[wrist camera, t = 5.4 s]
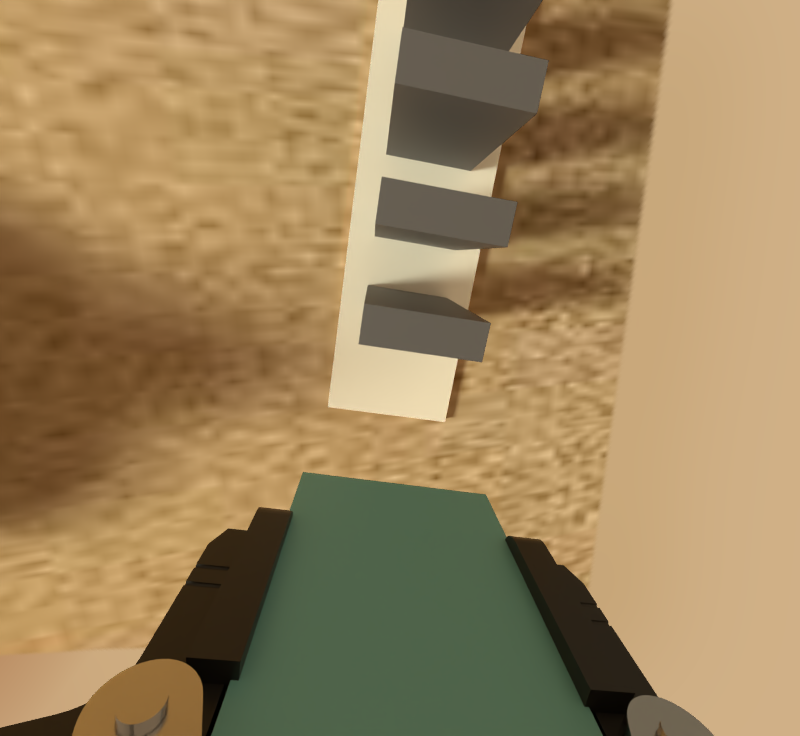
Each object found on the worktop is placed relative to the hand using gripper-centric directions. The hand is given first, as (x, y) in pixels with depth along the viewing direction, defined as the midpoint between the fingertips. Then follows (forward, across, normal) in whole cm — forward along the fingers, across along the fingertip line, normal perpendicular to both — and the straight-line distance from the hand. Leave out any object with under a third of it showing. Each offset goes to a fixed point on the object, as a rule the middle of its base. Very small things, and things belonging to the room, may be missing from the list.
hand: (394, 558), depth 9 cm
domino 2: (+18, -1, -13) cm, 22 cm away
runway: (+18, -1, -9) cm, 20 cm away
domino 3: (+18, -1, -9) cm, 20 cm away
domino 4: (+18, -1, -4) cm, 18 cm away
